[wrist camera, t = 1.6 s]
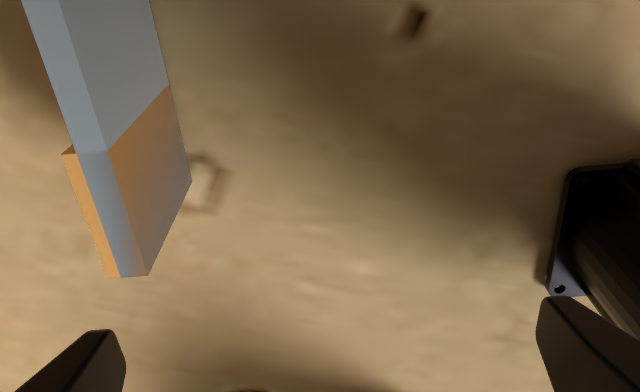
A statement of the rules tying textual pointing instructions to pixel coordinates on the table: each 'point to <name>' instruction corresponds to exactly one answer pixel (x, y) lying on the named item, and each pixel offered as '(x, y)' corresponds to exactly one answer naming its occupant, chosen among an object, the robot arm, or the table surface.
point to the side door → (115, 124)
